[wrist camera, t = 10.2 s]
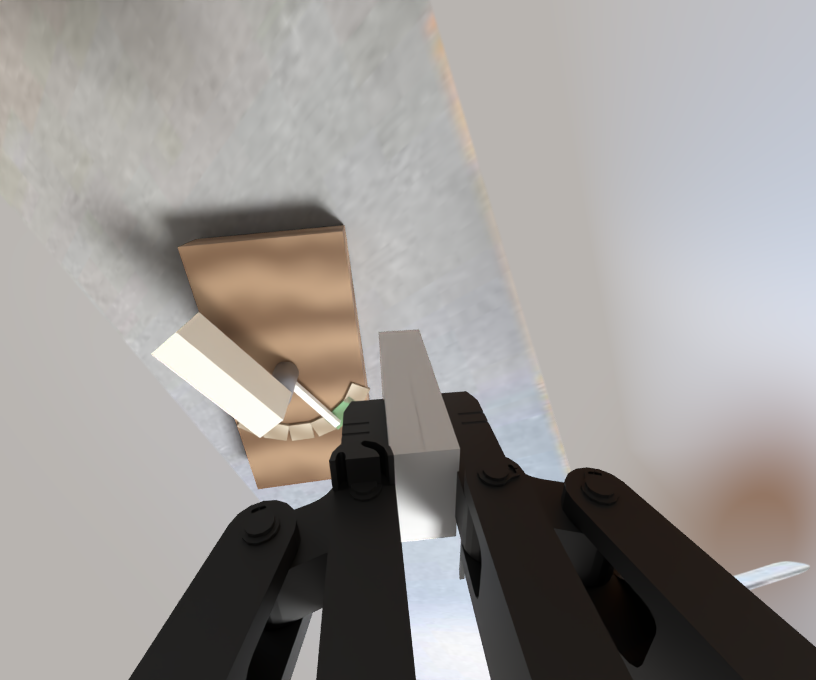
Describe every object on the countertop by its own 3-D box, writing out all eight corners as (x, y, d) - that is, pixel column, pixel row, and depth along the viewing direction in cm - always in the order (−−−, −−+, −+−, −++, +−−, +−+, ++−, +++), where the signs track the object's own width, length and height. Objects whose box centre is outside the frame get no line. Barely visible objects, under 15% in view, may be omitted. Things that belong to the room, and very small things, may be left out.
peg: (199, 311, 34) (151, 354, 26) (219, 294, 34) (176, 332, 26) (329, 425, 41) (321, 485, 33) (347, 411, 40) (343, 469, 33)
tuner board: (196, 239, 36) (176, 247, 32) (349, 224, 37) (347, 231, 33) (265, 464, 47) (257, 491, 44) (380, 449, 48) (381, 473, 45)
